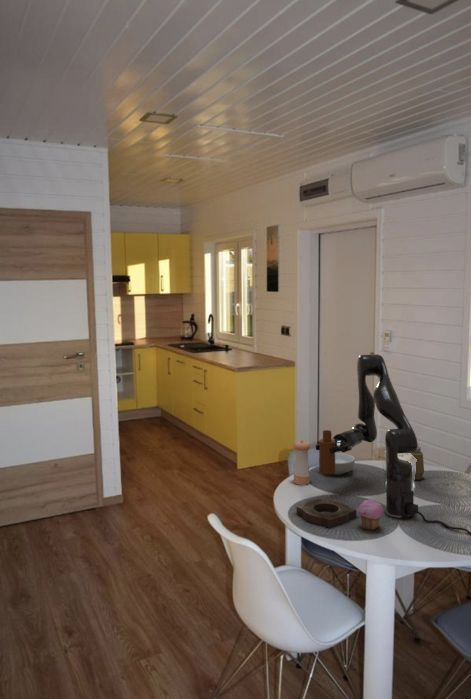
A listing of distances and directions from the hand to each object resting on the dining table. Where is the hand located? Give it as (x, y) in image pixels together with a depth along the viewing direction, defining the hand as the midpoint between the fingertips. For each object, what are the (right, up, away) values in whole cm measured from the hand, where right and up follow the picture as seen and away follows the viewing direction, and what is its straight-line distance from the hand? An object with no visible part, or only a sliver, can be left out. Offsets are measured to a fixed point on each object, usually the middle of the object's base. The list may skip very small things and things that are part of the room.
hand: (324, 449), depth 232 cm
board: (-1, -23, -12) cm, 26 cm away
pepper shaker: (-6, -19, +26) cm, 33 cm away
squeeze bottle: (+46, -18, +29) cm, 57 cm away
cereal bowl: (+12, -18, +39) cm, 44 cm away
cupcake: (+13, -25, -23) cm, 37 cm away
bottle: (+2, -10, +3) cm, 10 cm away
